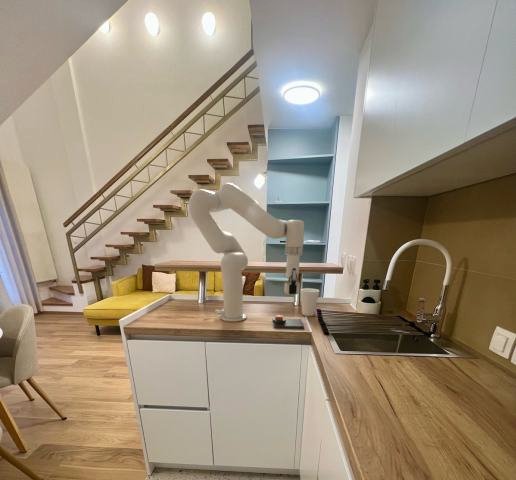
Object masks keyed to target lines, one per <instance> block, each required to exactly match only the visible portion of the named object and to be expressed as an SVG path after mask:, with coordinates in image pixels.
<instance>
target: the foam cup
mask: <svg viewBox="0 0 516 480" xmlns="http://www.w3.org/2000/svg"><path fill="white" fill-rule="evenodd" d="M319 296H320V290H319V289H317V288H309V287H306V288H301V289H300V299H301V300H300V302H301V303H300V305H301V315H303V316H307V317H312V316H314V315H315V312H316V308H317V303H318V299H319Z"/></svg>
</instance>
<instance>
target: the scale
mask: <svg viewBox="0 0 516 480" xmlns="http://www.w3.org/2000/svg"><path fill="white" fill-rule="evenodd" d="M272 323H273V324H274V329H279V330H282V329H283V330H286V329H287V330H304V328H305V326H304V323H303V320H302V318H285V317H283V320H276V316H275V317H273V318H272Z"/></svg>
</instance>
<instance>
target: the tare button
mask: <svg viewBox="0 0 516 480" xmlns="http://www.w3.org/2000/svg"><path fill="white" fill-rule="evenodd" d="M275 317H276V320H283V318H284V316H283V315H281V314H277V315H275Z"/></svg>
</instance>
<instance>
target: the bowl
mask: <svg viewBox="0 0 516 480" xmlns="http://www.w3.org/2000/svg"><path fill="white" fill-rule="evenodd" d="M289 285H290V282H288V281H287V282H284V288H283V289H284V291H283V292H284V293H285V295H288V296H289V295H290V296H296V295H298V294H299V293H300V285H301V283H300V282H298V281H296V285H297V288H296V294H289Z"/></svg>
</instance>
